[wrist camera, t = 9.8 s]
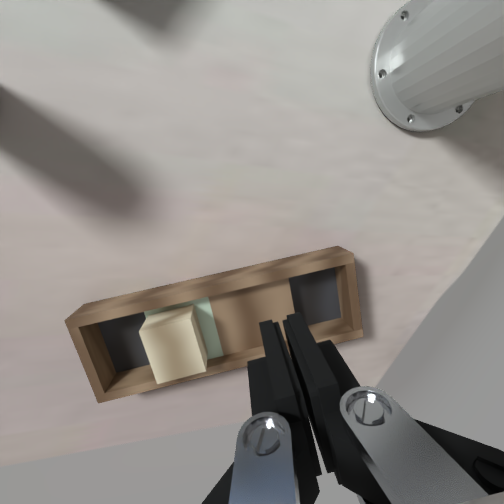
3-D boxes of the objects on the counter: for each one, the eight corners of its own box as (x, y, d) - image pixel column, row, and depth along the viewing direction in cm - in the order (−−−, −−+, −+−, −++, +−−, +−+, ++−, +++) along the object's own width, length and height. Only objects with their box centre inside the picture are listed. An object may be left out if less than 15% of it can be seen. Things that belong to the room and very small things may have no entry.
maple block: (193, 304, 30) (190, 318, 27) (207, 351, 31) (206, 371, 28) (148, 315, 30) (138, 331, 26) (164, 362, 31) (157, 384, 28)
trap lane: (337, 245, 33) (353, 253, 29) (347, 320, 35) (363, 336, 31) (83, 304, 31) (64, 320, 27) (112, 378, 34) (98, 403, 30)
